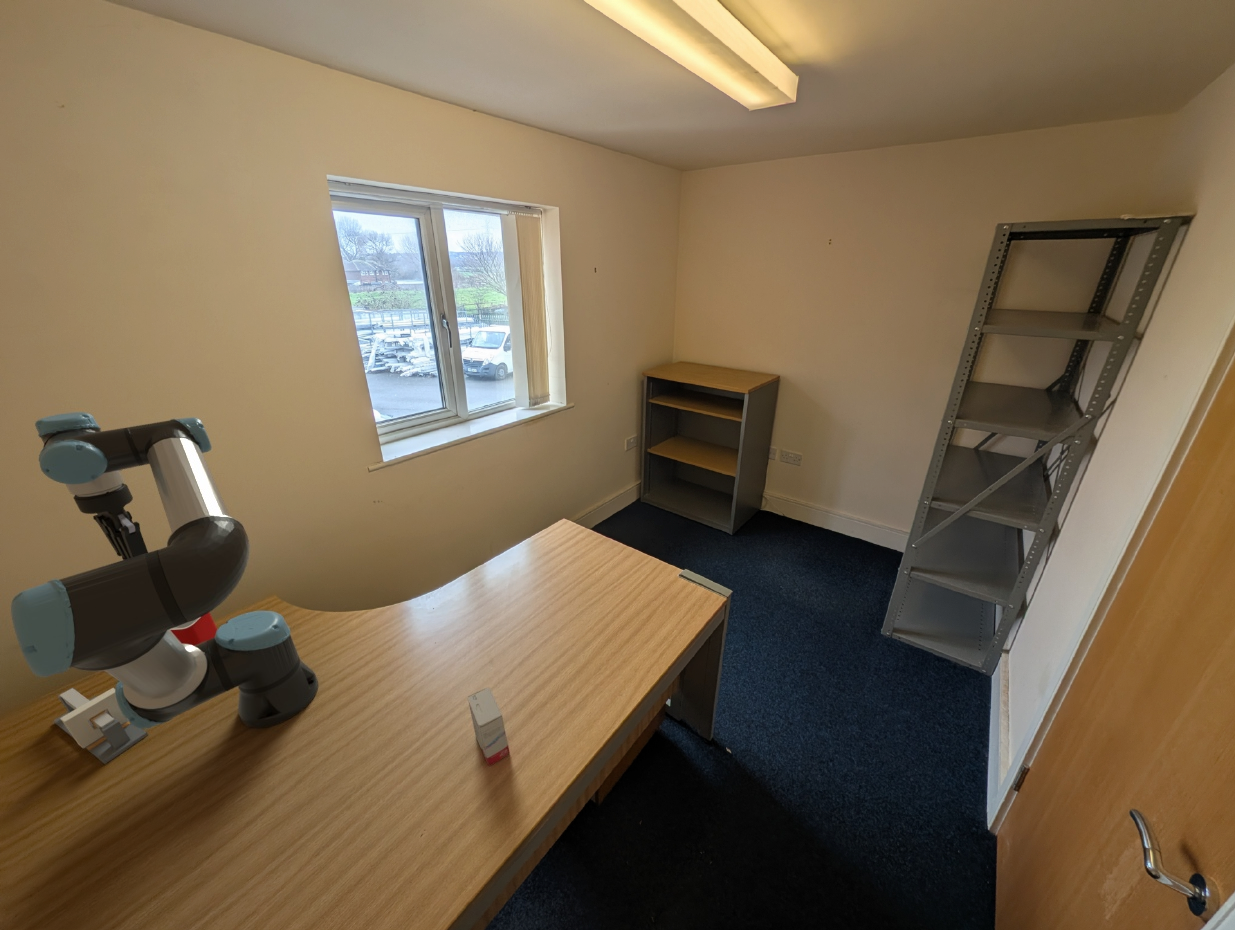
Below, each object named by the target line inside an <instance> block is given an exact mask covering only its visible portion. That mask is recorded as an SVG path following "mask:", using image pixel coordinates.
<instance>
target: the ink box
mask: <svg viewBox="0 0 1235 930" xmlns="http://www.w3.org/2000/svg"><path fill="white" fill-rule="evenodd" d="M467 700H468V705H469V711H470V714H471V721H472V724H473V731H474V733H475V737H476V740H477V742H478V744H479V746H480V749H481V751H482V754H483V756H484V759H485V760H486V764H487V766H489V767H490V766H493V764H495V763H498V762H499V761H501V760H502V759H504V758H505V757H507V756H508V755H510V747H509V742H508V738H507V734H506V728H505V724H504V717H503V714H502V712H501V709H500V707H499V705H498V702H497V701H496V698H495V696H494V694H493V692H492V690H491V688H490V687H489V686H488V687H486V688H483V689H481V690H479V691H476V692H475V693H473V694H471V695H469V696H467Z"/></svg>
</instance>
